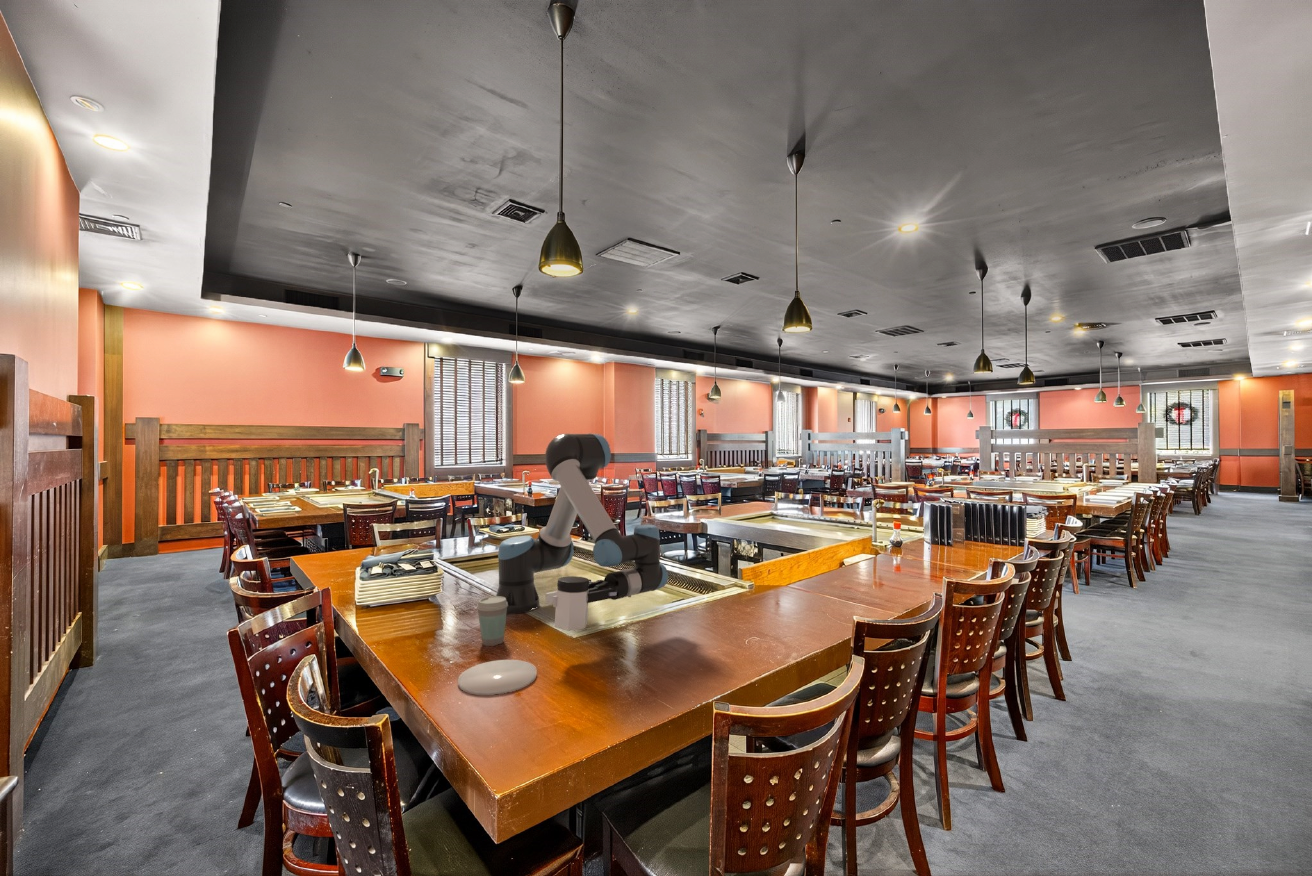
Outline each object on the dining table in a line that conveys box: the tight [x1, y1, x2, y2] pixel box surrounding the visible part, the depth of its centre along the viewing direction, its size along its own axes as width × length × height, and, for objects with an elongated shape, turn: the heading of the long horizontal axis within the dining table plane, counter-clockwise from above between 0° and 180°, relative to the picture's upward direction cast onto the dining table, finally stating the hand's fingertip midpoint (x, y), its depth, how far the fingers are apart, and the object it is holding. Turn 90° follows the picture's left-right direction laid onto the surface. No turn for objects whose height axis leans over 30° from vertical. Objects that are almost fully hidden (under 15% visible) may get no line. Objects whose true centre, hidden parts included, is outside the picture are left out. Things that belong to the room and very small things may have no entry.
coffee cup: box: [476, 595, 508, 647], centre depth 160 cm, size 9×8×12 cm
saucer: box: [457, 659, 538, 696], centre depth 135 cm, size 18×18×1 cm
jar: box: [554, 575, 589, 631], centre depth 148 cm, size 9×8×12 cm
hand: (550, 600), depth 147 cm, fingers closed on jar, 3 cm apart
